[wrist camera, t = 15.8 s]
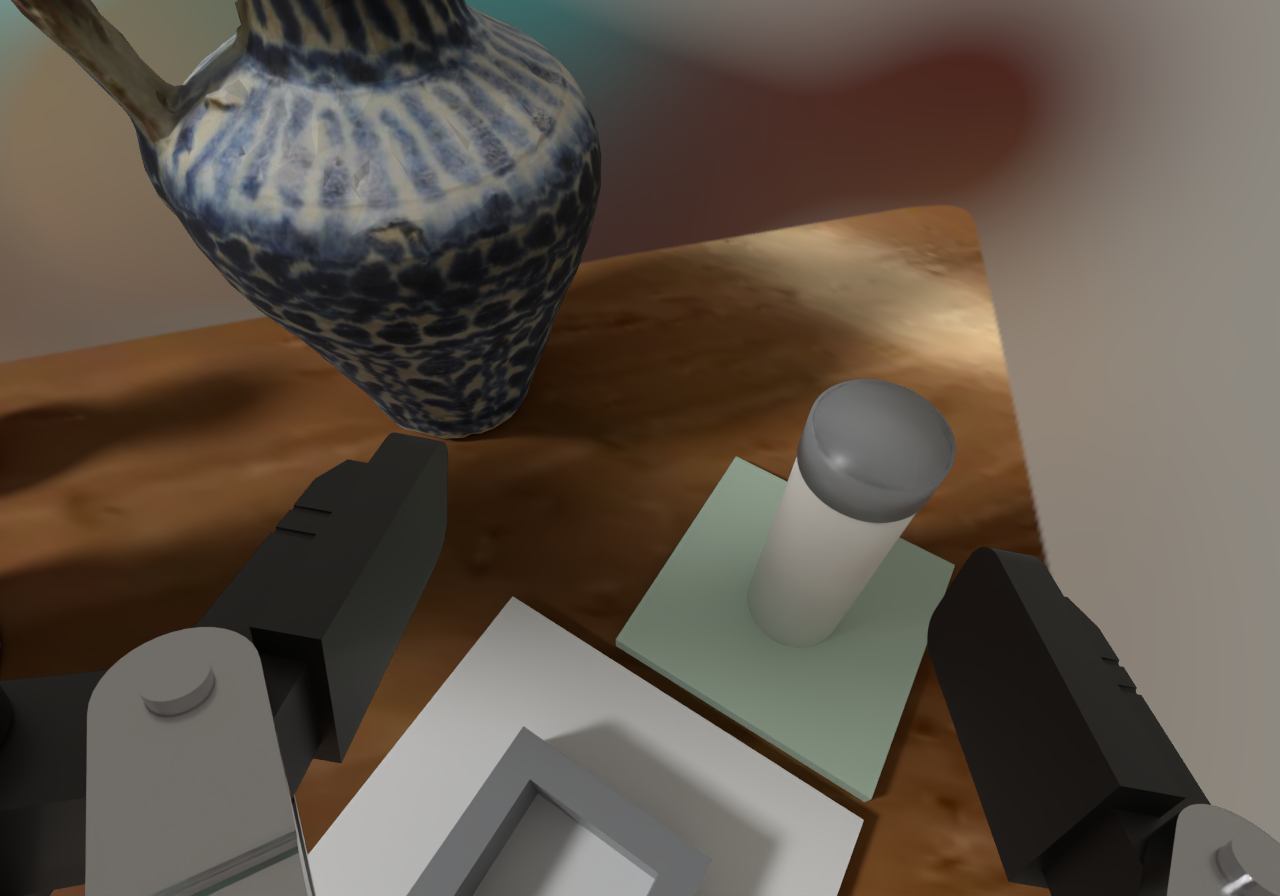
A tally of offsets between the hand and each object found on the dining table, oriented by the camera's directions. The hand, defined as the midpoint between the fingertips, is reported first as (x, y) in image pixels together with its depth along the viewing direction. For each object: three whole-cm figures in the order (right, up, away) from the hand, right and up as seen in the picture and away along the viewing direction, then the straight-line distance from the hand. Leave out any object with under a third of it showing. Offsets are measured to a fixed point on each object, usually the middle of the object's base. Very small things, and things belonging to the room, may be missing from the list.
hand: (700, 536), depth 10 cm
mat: (+7, -8, +26) cm, 28 cm away
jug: (-14, +5, +35) cm, 38 cm away
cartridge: (+7, -7, +26) cm, 28 cm away
